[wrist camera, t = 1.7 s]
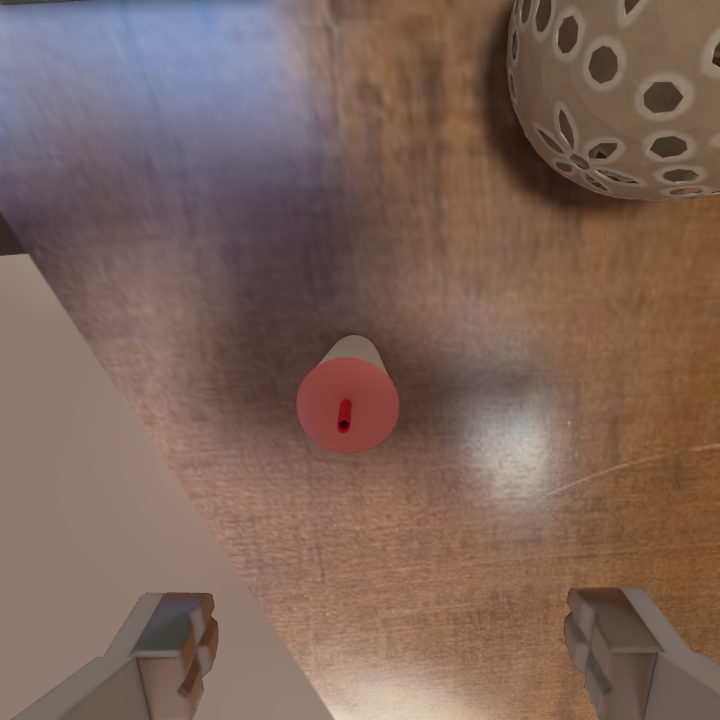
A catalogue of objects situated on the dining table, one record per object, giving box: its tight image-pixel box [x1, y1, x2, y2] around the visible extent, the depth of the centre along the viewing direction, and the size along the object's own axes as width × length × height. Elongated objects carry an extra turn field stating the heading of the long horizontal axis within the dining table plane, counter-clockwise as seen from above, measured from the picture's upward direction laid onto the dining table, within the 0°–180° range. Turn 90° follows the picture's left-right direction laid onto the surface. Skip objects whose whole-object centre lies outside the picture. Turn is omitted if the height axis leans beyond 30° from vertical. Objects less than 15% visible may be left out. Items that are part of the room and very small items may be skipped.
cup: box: [296, 335, 399, 453], centre depth 26 cm, size 5×5×12 cm
